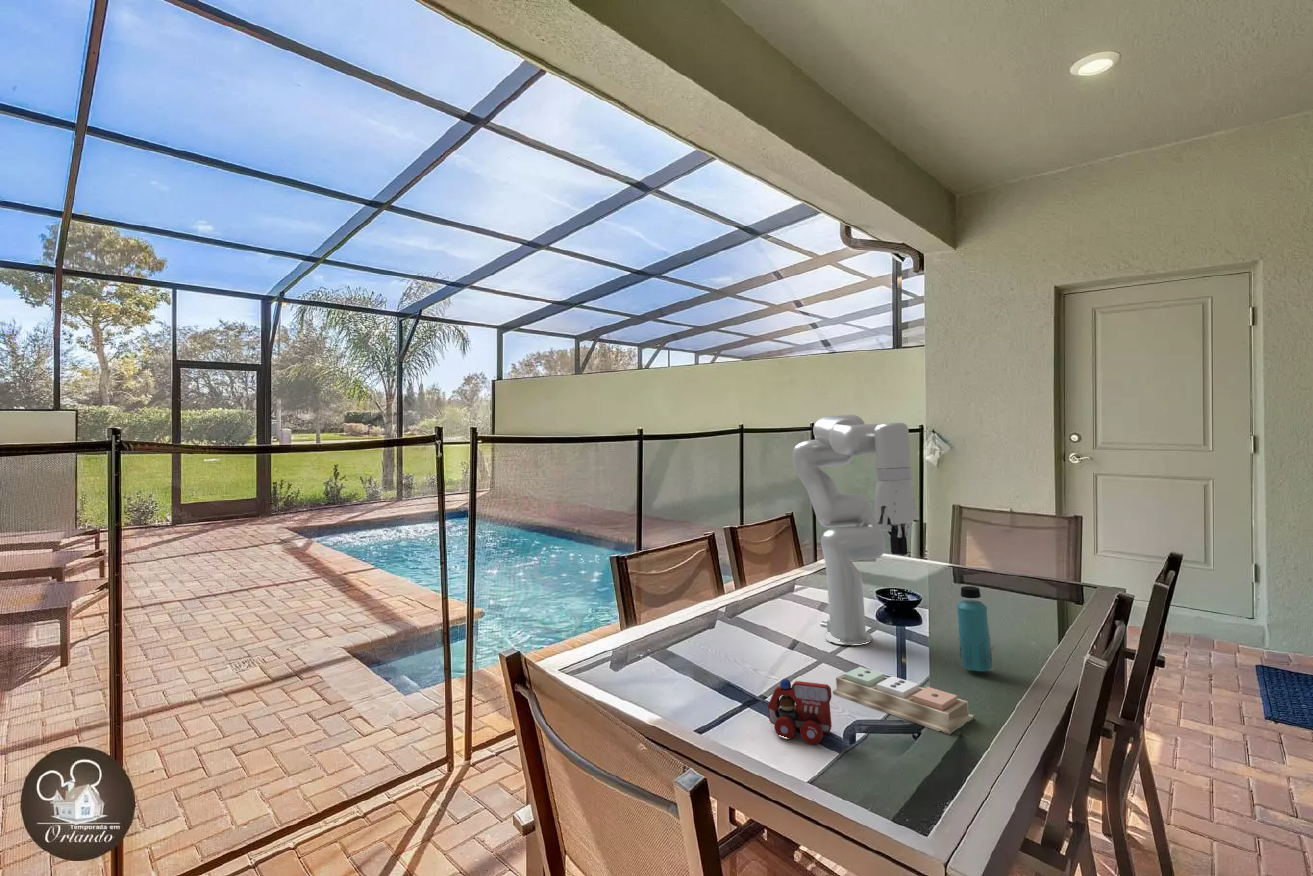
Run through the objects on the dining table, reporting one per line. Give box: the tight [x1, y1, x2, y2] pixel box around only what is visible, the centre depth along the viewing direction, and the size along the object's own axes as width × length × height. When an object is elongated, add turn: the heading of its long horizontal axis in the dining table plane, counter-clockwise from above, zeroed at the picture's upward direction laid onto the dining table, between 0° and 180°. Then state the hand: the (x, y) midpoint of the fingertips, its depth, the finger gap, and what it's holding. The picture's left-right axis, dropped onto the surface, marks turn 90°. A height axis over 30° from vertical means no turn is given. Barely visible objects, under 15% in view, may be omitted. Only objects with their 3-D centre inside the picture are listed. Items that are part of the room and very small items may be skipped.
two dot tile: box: [843, 666, 885, 687], centre depth 129 cm, size 6×6×4 cm
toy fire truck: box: [767, 678, 833, 746], centre depth 113 cm, size 7×12×10 cm, turn 60°
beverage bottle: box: [956, 585, 993, 672], centre depth 137 cm, size 6×7×20 cm
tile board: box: [832, 674, 975, 733], centre depth 122 cm, size 26×10×3 cm, turn 37°
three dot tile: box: [876, 676, 920, 699], centre depth 122 cm, size 6×6×4 cm
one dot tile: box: [912, 686, 959, 712], centre depth 116 cm, size 6×6×4 cm
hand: (899, 553), depth 136 cm, fingers closed
